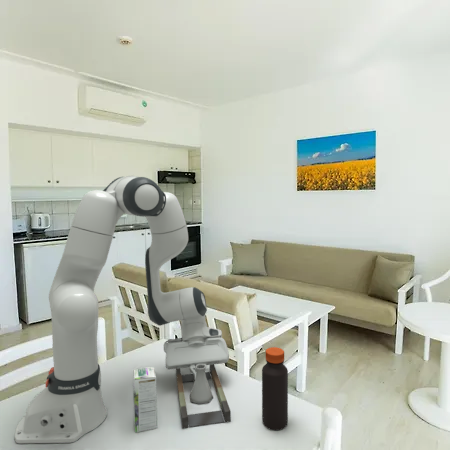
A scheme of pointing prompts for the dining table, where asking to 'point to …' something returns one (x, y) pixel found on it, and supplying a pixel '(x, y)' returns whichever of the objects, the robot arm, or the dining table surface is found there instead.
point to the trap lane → (206, 417)
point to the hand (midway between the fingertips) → (199, 380)
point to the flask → (201, 387)
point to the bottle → (274, 390)
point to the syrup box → (145, 399)
